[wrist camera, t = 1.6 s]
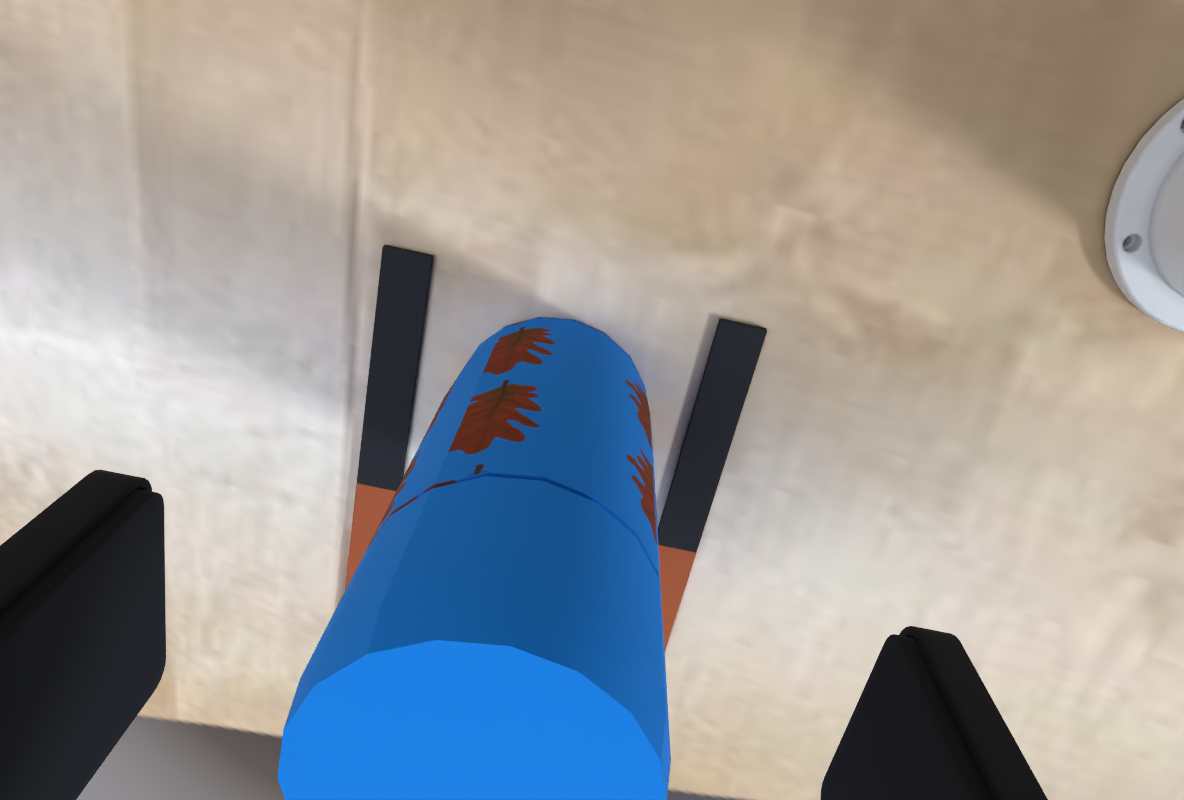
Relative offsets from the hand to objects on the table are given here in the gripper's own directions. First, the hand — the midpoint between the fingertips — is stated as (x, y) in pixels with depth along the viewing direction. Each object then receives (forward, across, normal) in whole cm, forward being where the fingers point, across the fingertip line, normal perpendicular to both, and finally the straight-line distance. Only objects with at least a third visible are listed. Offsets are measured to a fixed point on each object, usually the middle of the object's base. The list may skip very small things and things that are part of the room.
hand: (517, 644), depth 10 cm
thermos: (+33, 0, +12) cm, 35 cm away
